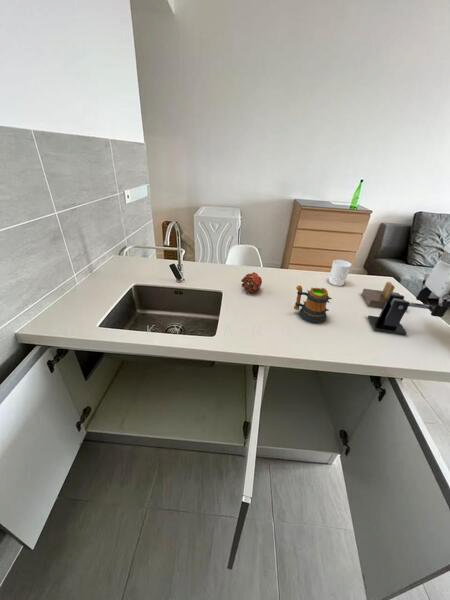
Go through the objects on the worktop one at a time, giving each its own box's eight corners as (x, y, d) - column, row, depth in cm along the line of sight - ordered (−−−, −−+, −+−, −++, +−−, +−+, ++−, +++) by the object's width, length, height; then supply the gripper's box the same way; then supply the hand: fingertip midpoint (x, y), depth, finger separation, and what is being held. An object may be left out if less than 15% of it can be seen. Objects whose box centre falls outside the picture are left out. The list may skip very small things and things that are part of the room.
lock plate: (395, 298, 105) (398, 292, 103) (405, 311, 96) (409, 304, 95) (361, 294, 107) (363, 288, 105) (368, 306, 98) (371, 299, 97)
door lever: (425, 305, 83) (428, 299, 82) (434, 315, 78) (438, 309, 77) (387, 300, 85) (390, 294, 84) (394, 310, 80) (397, 303, 79)
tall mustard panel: (381, 293, 102) (386, 281, 99) (385, 293, 102) (390, 281, 99) (385, 298, 98) (391, 286, 95) (389, 299, 98) (395, 286, 95)
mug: (325, 311, 94) (333, 284, 88) (327, 326, 85) (337, 298, 79) (291, 305, 96) (296, 279, 90) (290, 319, 88) (296, 291, 82)
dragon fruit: (249, 300, 101) (248, 290, 112) (267, 290, 98) (264, 281, 109) (238, 284, 98) (238, 275, 109) (256, 273, 96) (255, 265, 107)
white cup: (347, 286, 112) (354, 266, 107) (331, 286, 112) (337, 266, 107) (340, 279, 119) (347, 260, 114) (324, 278, 119) (330, 259, 113)
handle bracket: (395, 322, 90) (410, 294, 84) (405, 335, 83) (421, 306, 77) (367, 317, 91) (379, 290, 85) (374, 331, 84) (387, 302, 78)
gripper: (493, 273, 64) (456, 325, 73) (453, 251, 78) (427, 296, 87) (461, 269, 65) (429, 321, 74) (428, 248, 79) (404, 293, 88)
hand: (428, 307), depth 81 cm, fingers open, 9 cm apart
